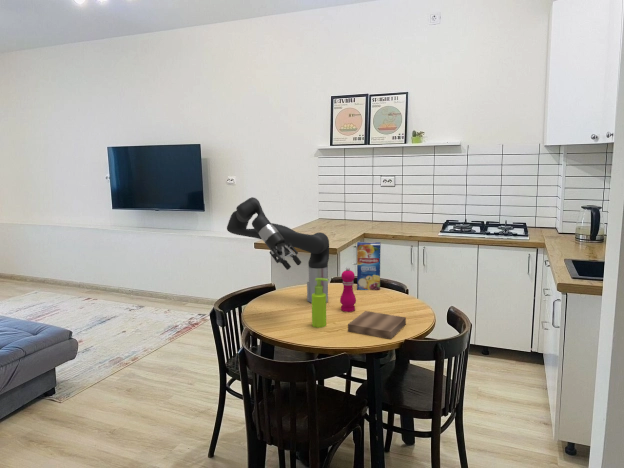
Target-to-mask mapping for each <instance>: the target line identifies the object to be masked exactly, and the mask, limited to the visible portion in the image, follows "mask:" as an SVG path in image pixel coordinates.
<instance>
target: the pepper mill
mask: <svg viewBox="0 0 624 468" xmlns="http://www.w3.org/2000/svg"><path fill="white" fill-rule="evenodd" d="M341 280H342V285H343V290H342V293H341V295H340V300H339V303H340V304H341V305H340V307H341V308H340V310H341V311H342V312H346V313H349V312H350V313H351V312H354V311H355V310H356V306H355V305H356V302H357V298H356V295H355V293H354V289H353V287H354V286H353V285H354V280H355V273H354V271H353V270H351V267H349V266H347V267H346V268H345V270H344V271H342V273H341Z"/></svg>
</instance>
